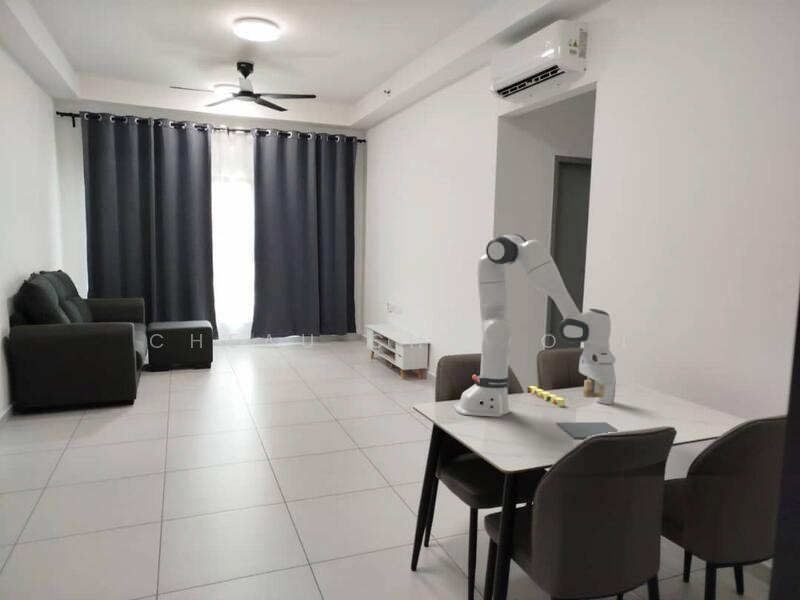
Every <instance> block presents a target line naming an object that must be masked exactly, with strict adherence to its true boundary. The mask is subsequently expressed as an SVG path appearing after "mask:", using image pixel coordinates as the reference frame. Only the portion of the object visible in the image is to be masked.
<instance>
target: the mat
mask: <svg viewBox="0 0 800 600" xmlns="http://www.w3.org/2000/svg"><path fill="white" fill-rule="evenodd" d="M555 424H556V425H557V426H558V427H560V429H561V430H563V431H564V432H565V433H566V434H567V435H569V436H570V437H573V438H572V439H573V440H585V439H584V438H587V437H589V436H592V435H597V434H602V433H608V432H617V431H619V430H618V429H617V428H616V427H614V426H613V425H611V424H609V422H604V421H603V422H599V421H597V422H593V421H592V422H591V421H589V422H586V421H585V422H582V421H581V422H580V421H579V422H578V421H577V422H575V421H574V422H556V423H555ZM578 438H580V439H578Z"/></svg>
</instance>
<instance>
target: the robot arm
mask: <svg viewBox="0 0 800 600" xmlns="http://www.w3.org/2000/svg"><path fill="white" fill-rule="evenodd" d="M485 253H486V254H484V255H482V256H481V257H480V258H479V259H478V262H477V272H476V273H477V275H476V276H477V287H478V298H479V309H480V319H481V330H482V342H481V344H482V345H481V353H480V354H481V356H480V374H479V375H478V376H477V375H476V374H473V375H472V380H474V384H473V385H472V386H470V387H469V388H468V389H466V390H464V391H463V392H462V394H461V396H460V400H459V402H456V403H455V404H454V410H455V411H456V412H457V413H459V414H461V415H464V416H475V417H477V416H478V417H480V416H481V417H494V418H495V417H496V418H498V417H499V418H500V417H503V415H507V414H509V413H510V412H511V409H510V405H509V396H508V391H509V386H510V381H509V360H510V350H511V341H512V327H511V324H510V322H509V310H508V292H507V282H506V267H507V266H508V265H512V264H514V263H519V264H520V265H521V266H522V267H523V270H524V271H525V273H526V275H527V277H528V279H529V281H530V283H531V284H533V287H535V289H537V291H540V292H543V293H544V294H546V295H547V296H549V297H550V298H551V299H552V300H553V301H554V303H555V305H556V307H557V309H558V310H559V312H560V314H561V315H562V317H563V319H562V320H561V321H560V322H559V324H558V326H557V333H558V336H559V338H560V339H561V340H562V341H563V342H566V343H570V344H575V343H583V351H582V354H581V355H580V356H579V357H580V358H579V364H578V372H579V373H580V374H581V375H583V376H585V377H587V379H586V380H594V381H595V382H594V383H595V386H594V387H593V392H595V393H599V389H600V387H601V385H611V384H612V382H613V377H614V372H615V365H614V364H615V363H616V357H615V355H614V354H612V351H611V350H610V337H611V329H612V327H611V326H612V325H611V317H610V315H609V313H608V312H606V311H604V310H602V309H596V308H589V309H587V310H586V311H584V312H582V311H581V310H580V309H579V307H578V306H577V304H576V302H575V301H574V299H573V298H572V296H571V294H570V293H569V291H568V289H567V287H566V285H565V283H564V281H563V278H562V276H561V274H560V271H559V269H558V267H557V264H556V263H555V260H554V259H553V257H552V255H551V254H550V252H549V251H548V249H547V248H546V246H545V245H544V244H543V243H542V242H541V241H540V240H538V239H531V240H527V239H526V238H524V237H523V236H521V235H519V234H504V235H499V236H496V237H494V238H492V239H491V240H490V241H488V243H487V245H486V249H485ZM612 363H613V364H612Z"/></svg>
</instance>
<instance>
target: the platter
mask: <svg viewBox="0 0 800 600" xmlns="http://www.w3.org/2000/svg"><path fill="white" fill-rule="evenodd" d="M526 391H527V392H526V393H528V394H529V393H533V394H532V395H534V394H535V395H536V396H540V397H539V399H540V398H542V399H546V400H545V401H546V402H547V401H549V402H553V403H552V404H555V405H557V406H556V407H564V406H565V399H564V398H562V397H560V396H559V397H558V395H555V394H553V393H552V394H551V392H548V391H545V390H543V389H542V388H538V387H537V386H535V385H534V386H533V385H531V386H527V390H526ZM536 396H535V397H536ZM542 399H541V400H542ZM549 402H548V403H549ZM555 405H554V406H555ZM563 405H564V406H563Z"/></svg>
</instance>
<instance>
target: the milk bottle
mask: <svg viewBox="0 0 800 600" xmlns="http://www.w3.org/2000/svg"><path fill="white" fill-rule="evenodd" d="M612 364H613V365H614V363H612ZM616 379H617V378H616V372H615V371H614V377H613V382H612V384H611V385H605V392H604V397H595V402H597V404H598V403H599V404H603V405H613V404H614V403H615V398H616V397H615V396H616V395H615V394H616V381H617V380H616Z"/></svg>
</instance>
